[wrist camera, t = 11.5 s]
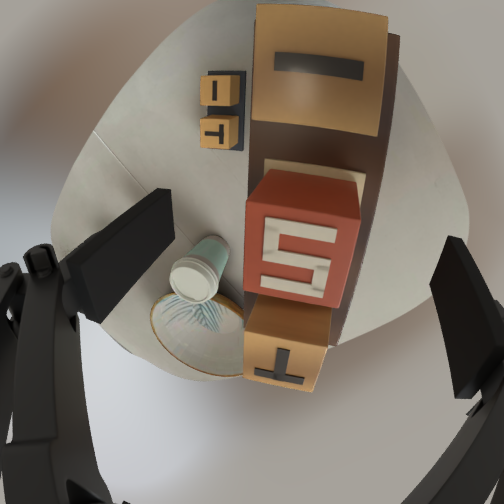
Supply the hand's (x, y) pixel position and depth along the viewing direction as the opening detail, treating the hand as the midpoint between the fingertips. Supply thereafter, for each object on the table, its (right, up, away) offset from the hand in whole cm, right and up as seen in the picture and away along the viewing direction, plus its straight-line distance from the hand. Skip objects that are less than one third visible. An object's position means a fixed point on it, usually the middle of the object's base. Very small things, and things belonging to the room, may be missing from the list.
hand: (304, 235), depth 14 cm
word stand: (+9, +18, +29) cm, 35 cm away
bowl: (-10, -15, +56) cm, 59 cm away
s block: (+1, +1, +3) cm, 3 cm away
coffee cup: (-9, 0, +46) cm, 47 cm away
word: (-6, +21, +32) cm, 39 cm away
